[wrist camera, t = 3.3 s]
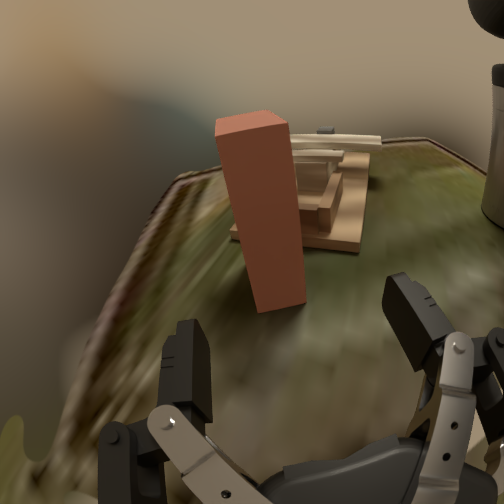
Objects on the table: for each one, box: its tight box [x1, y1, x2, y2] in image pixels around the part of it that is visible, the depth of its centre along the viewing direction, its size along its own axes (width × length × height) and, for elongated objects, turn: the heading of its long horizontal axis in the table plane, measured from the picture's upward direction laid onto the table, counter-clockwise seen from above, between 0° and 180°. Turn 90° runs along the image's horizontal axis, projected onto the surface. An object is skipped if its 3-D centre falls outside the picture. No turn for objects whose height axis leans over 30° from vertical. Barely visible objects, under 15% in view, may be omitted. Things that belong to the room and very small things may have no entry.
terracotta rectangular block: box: [215, 110, 306, 313], centre depth 21 cm, size 7×4×14 cm, turn 6°
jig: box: [230, 127, 381, 253], centre depth 36 cm, size 28×18×7 cm, turn 156°
